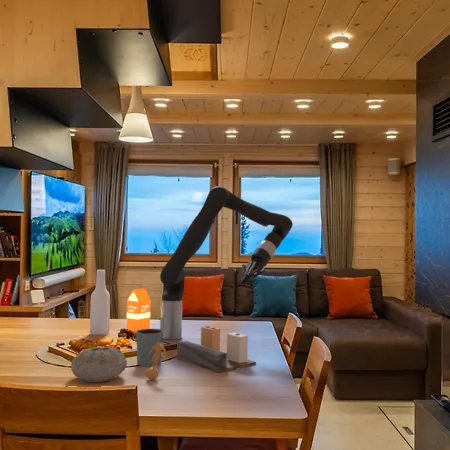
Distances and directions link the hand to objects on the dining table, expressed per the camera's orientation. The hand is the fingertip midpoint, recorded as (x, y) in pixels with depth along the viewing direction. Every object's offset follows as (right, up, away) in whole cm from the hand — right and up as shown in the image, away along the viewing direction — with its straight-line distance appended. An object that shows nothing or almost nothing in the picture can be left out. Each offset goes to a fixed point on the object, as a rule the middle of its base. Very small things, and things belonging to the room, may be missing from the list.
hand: (242, 283), depth 200 cm
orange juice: (-50, -28, +40) cm, 70 cm away
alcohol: (-66, -27, +29) cm, 77 cm away
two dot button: (-13, -26, -8) cm, 30 cm away
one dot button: (-3, -26, -20) cm, 33 cm away
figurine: (-30, -27, -40) cm, 57 cm away
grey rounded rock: (-49, -27, -40) cm, 69 cm away
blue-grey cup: (-35, -27, -21) cm, 49 cm away
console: (-11, -27, -16) cm, 34 cm away
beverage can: (-37, -28, +54) cm, 71 cm away
